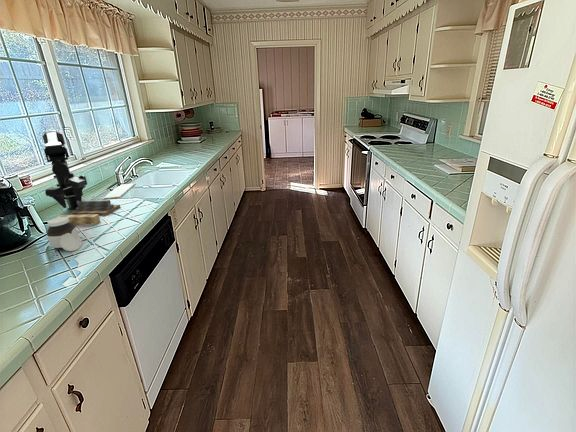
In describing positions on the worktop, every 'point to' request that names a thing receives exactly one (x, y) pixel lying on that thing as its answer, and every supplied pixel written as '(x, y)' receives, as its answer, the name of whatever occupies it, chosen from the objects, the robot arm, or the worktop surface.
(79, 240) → the spread jar
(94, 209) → the ridge stand
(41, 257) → the worktop surface
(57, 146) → the robot arm
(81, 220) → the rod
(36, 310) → the worktop surface
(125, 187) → the baseboard molding
